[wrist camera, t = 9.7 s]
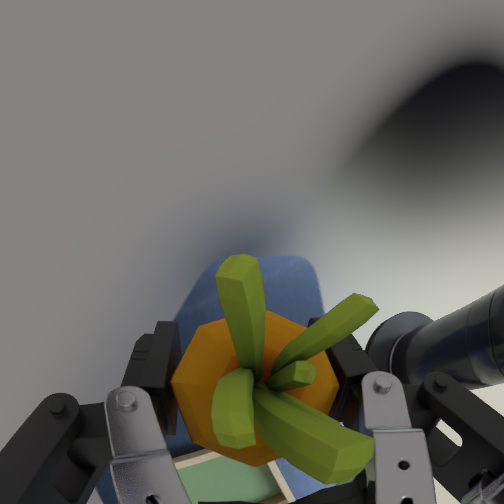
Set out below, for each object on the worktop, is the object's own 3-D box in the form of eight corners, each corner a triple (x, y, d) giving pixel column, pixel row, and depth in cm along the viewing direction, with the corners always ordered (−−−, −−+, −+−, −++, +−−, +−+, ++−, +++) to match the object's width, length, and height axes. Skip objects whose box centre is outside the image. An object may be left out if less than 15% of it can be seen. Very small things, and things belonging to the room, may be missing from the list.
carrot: (198, 348, 17) (139, 204, 4) (275, 352, 18) (424, 232, 5) (194, 423, 15) (109, 531, 2) (273, 426, 16) (441, 502, 2)
